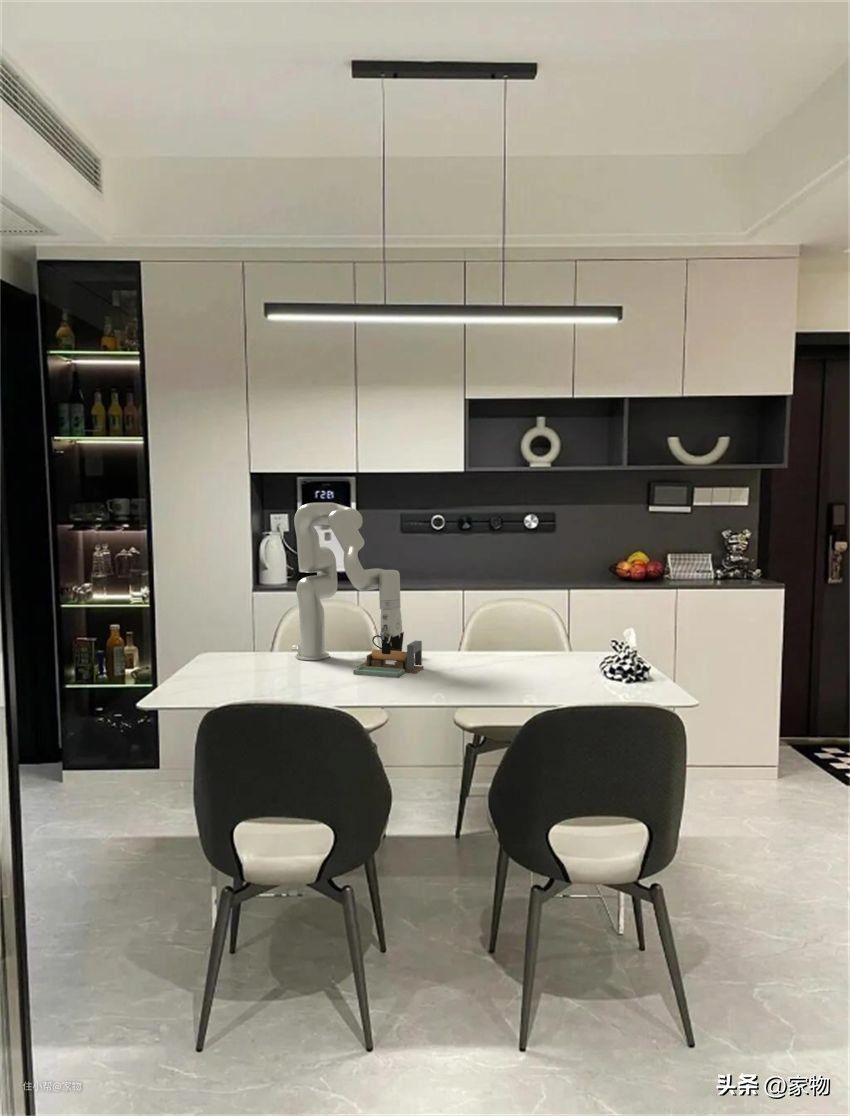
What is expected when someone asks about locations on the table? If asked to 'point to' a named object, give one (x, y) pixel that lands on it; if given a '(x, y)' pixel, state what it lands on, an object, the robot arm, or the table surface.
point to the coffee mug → (391, 642)
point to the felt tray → (379, 671)
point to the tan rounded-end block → (389, 655)
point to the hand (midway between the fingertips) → (391, 651)
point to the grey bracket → (411, 649)
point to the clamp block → (390, 665)
